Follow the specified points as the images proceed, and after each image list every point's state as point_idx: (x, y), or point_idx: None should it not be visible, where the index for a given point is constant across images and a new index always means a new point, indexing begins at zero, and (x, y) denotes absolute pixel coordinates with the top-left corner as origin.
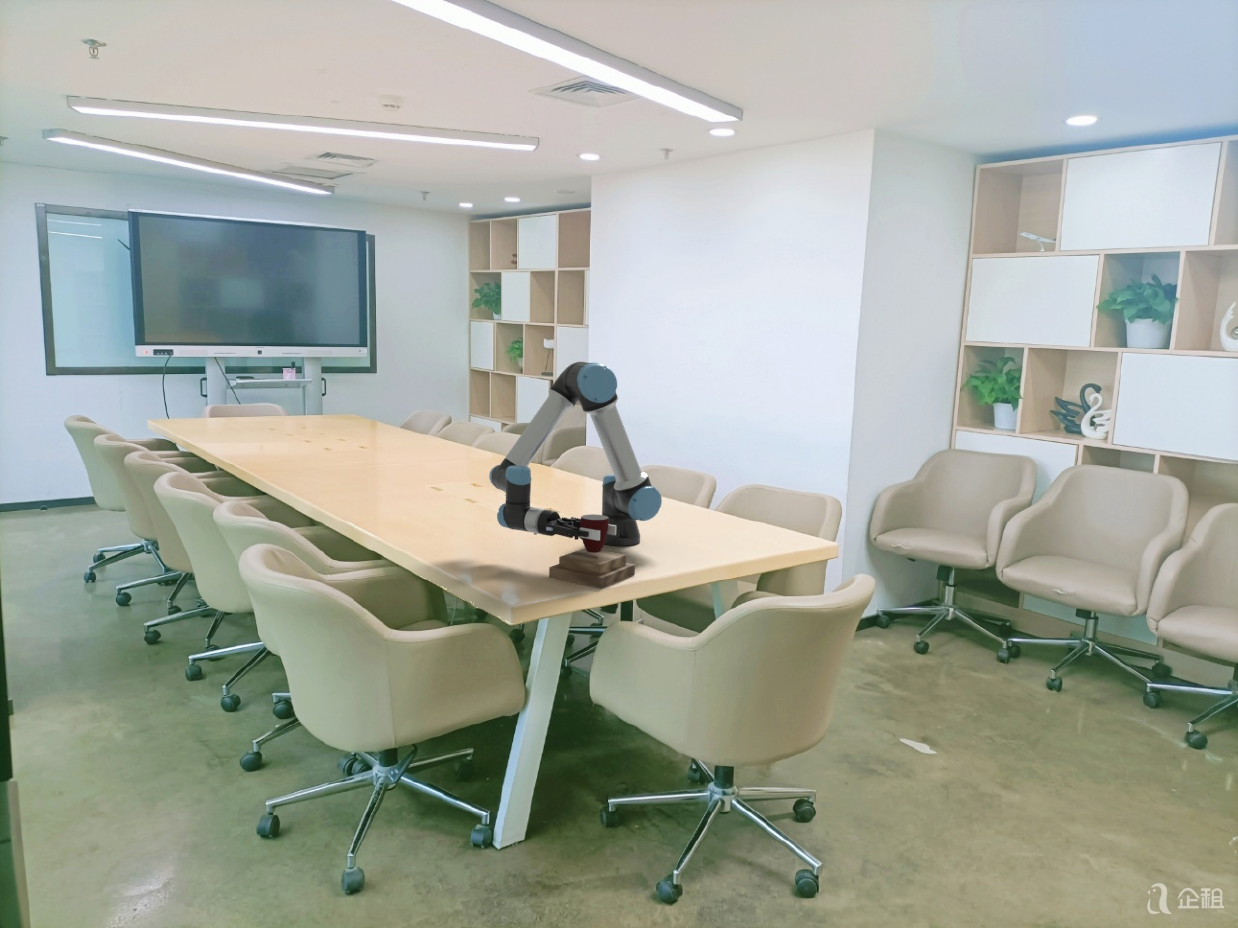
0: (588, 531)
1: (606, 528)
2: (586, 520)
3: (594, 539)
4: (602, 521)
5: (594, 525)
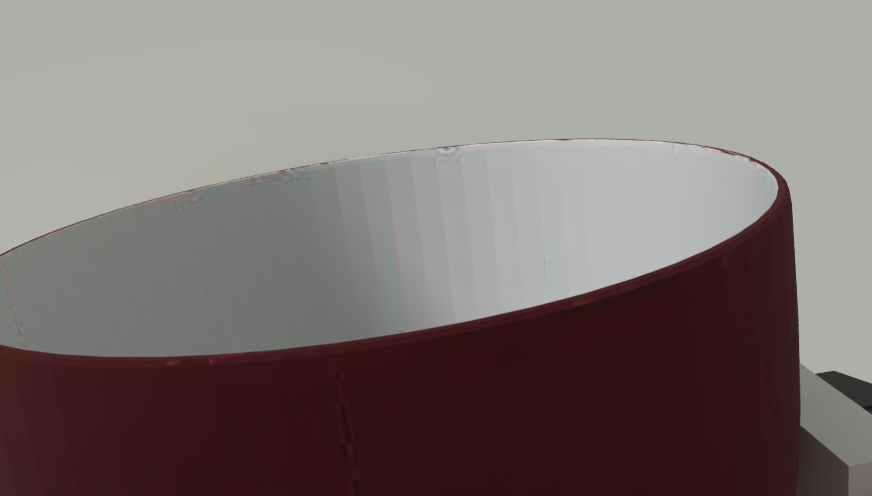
0: None
1: (381, 330)
2: (755, 189)
3: None
4: (475, 176)
5: (631, 253)
